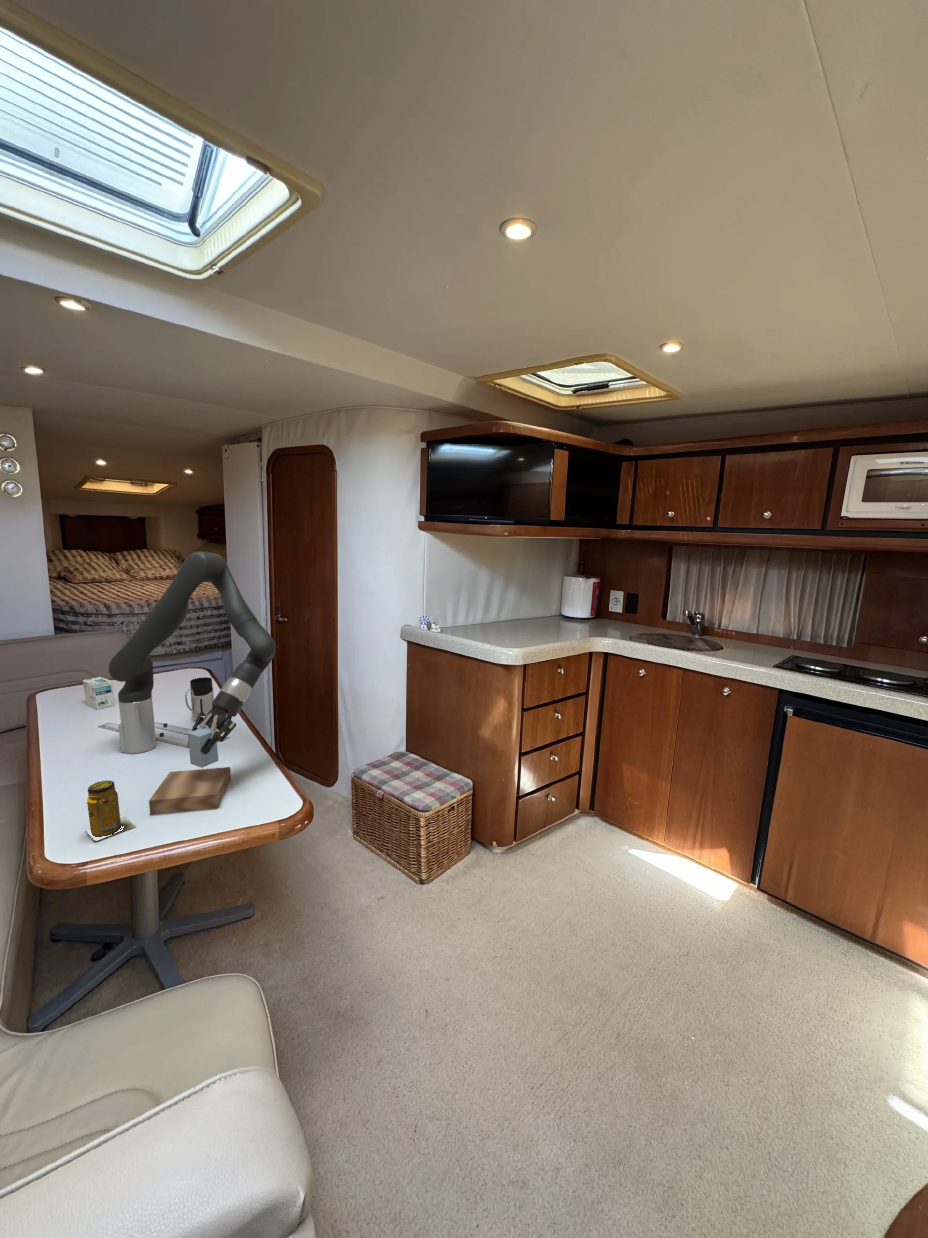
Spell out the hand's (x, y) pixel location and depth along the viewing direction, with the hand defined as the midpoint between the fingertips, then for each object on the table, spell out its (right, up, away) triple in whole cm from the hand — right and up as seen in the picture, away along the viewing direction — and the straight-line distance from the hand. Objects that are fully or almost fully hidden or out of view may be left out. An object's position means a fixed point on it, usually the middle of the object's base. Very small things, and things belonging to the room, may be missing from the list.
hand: (197, 750), depth 140 cm
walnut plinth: (-1, -13, 0) cm, 13 cm away
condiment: (-13, -16, -15) cm, 25 cm away
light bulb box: (-77, 0, +70) cm, 104 cm away
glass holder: (-28, -3, +56) cm, 63 cm away
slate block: (+1, -4, +2) cm, 5 cm away
